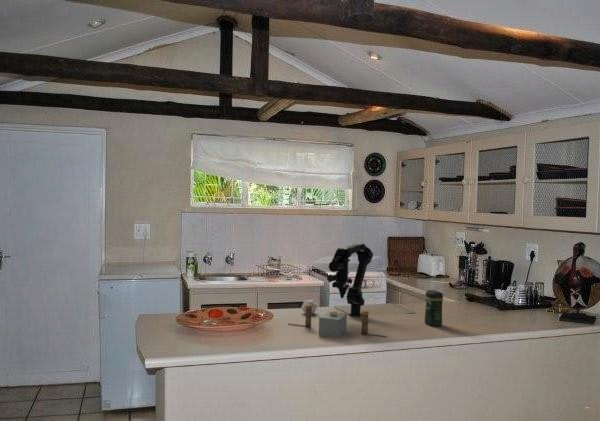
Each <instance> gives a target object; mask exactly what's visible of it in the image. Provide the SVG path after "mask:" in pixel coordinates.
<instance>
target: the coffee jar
mask: <svg viewBox="0 0 600 421" xmlns="http://www.w3.org/2000/svg"><path fill="white" fill-rule="evenodd" d="M443 301H444V294H443V293H442V292H440V291H437V290H434V289H428V290H426V291H425V309H424V310H425V311H424V324H427V325H428V326H433V327H440V326H442V325H443Z"/></svg>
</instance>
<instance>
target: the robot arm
mask: <svg viewBox="0 0 600 421" xmlns="http://www.w3.org/2000/svg"><path fill="white" fill-rule="evenodd" d="M352 254H356V255H357V261H358V265H357V269H356V272H355V277H354V281H353V279H352V278H351V277H349V274H350V271H349V262H351V259H350V258H351V257H352ZM373 257H374V253H373V251H372V250H371V248H370V247H368V246H367V245H366V244H365V243H362V242H357V243H356V242H355V244H352V245H349V246H345V247H344V246H339V247H337V249H336V250H335V253H334V255H333V258H332V259H331V261H330V262H329V264H328V269H329V271H331V272H332V273H335V274H328V275H327V277H326V278H327V279H326V280H327V282H328V283H331V282H332V286H331V287H332V288H336V289H337V290H338V292H339V296H340V299H344V297H345V296H346V301H347V304H349V305H350V313H348V315H349V316H355V317H362V310H361V307H362V306H364V305H365V303H366V302H365V299H364V297H363V291H362V290H363V289H362V287H363V283H364V278H365V275H366V270H367V267H368V265H369V264H370V263H371V262H372V259H373ZM349 284H350V285H351V284H353V285H352V286H351V287H350V285H349ZM345 294H346V295H345Z"/></svg>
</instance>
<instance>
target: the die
mask: <svg viewBox="0 0 600 421" xmlns="http://www.w3.org/2000/svg"><path fill="white" fill-rule="evenodd" d="M306 305H312V313H311V315H314V314H315V313H316V310H317V308H318V304H316V302H315V301H314V299H304V301H303V303H302V305H301V310H302V311H303V313H304V314H305V315H306V308H305V307H306Z"/></svg>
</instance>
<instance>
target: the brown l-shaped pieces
mask: <svg viewBox="0 0 600 421" xmlns="http://www.w3.org/2000/svg"><path fill="white" fill-rule="evenodd" d="M305 308H306V314H305V323H304V324H298V323H288V324H287V325H290V326H297V327H304V328H309V329H310V328H312V314H311V313H312V305H306V307H305ZM361 313H362V315H361V335H363V336H372V337H374V336H375V337H379V338H380V337H381V338H387V335H383V334H374V333H368V332H369V331H368V330H369V329H368V328H369V311H367V310H361Z"/></svg>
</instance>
